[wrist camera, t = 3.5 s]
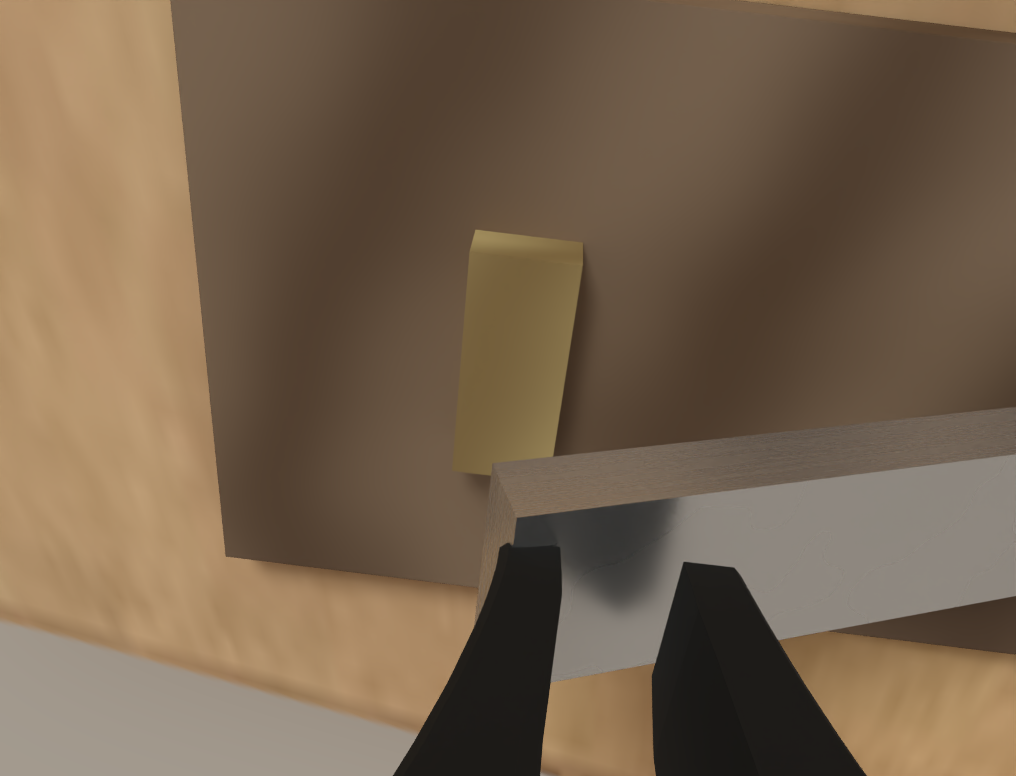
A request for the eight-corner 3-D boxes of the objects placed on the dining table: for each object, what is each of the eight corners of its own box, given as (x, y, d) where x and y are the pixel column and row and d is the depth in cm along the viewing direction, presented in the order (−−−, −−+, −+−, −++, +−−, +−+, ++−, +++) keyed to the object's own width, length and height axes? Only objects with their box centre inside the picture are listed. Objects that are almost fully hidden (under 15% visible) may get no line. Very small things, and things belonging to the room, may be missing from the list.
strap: (1235, 381, 14) (1301, 420, 14) (1145, 521, 16) (1200, 564, 15) (491, 460, 11) (517, 520, 10) (472, 632, 12) (494, 696, 12)
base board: (1499, 90, 14) (1752, 165, 11) (1126, 634, 20) (1219, 776, 17) (190, -65, 14) (82, -32, 11) (241, 525, 20) (182, 646, 17)
